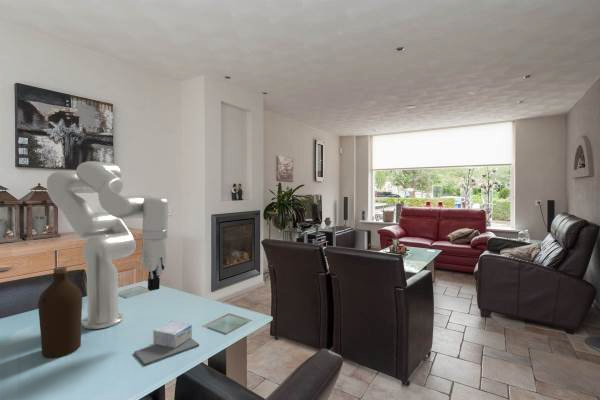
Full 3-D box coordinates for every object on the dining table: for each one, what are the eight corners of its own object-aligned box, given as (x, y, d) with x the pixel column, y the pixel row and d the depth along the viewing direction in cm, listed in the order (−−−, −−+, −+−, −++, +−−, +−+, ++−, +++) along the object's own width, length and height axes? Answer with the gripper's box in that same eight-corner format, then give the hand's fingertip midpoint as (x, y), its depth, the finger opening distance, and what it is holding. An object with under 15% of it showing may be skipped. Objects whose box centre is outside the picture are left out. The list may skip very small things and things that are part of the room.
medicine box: (152, 343, 99) (174, 349, 96) (152, 329, 99) (174, 334, 96) (171, 333, 106) (192, 337, 103) (171, 320, 106) (192, 324, 103)
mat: (134, 353, 95) (134, 351, 95) (186, 336, 106) (186, 334, 106) (144, 365, 88) (144, 363, 88) (199, 346, 99) (199, 344, 99)
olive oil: (75, 356, 93) (73, 271, 92) (31, 361, 90) (29, 273, 89) (88, 339, 103) (86, 262, 102) (49, 343, 100) (47, 264, 99)
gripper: (135, 232, 108) (134, 285, 109) (151, 239, 97) (149, 298, 98) (158, 230, 113) (157, 281, 114) (175, 237, 102) (173, 293, 104)
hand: (153, 289), depth 106 cm, fingers closed
